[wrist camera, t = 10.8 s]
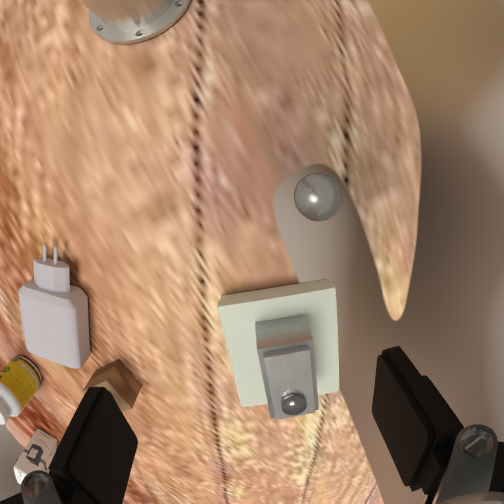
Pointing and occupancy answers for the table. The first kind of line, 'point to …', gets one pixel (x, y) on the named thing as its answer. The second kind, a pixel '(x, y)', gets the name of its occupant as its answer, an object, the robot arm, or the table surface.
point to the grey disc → (317, 197)
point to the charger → (55, 314)
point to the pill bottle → (17, 386)
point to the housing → (287, 366)
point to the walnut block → (117, 384)
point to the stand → (272, 307)
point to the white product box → (36, 455)
